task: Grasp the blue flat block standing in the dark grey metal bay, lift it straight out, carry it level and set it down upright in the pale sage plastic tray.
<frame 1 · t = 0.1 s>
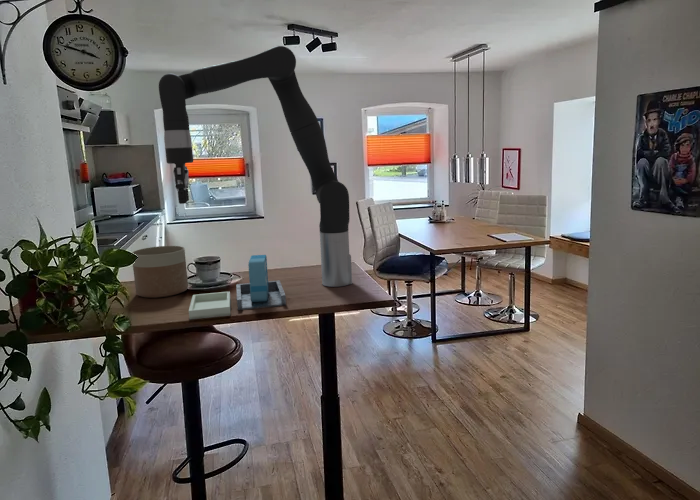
hand: (184, 202, 155), 29 cm above the table, fingers open, 8 cm apart
tray: (211, 308, 148), on the table
planter: (162, 292, 169), on the table
bay: (260, 299, 156), on the table
blue flat block: (260, 298, 155), resting on bay
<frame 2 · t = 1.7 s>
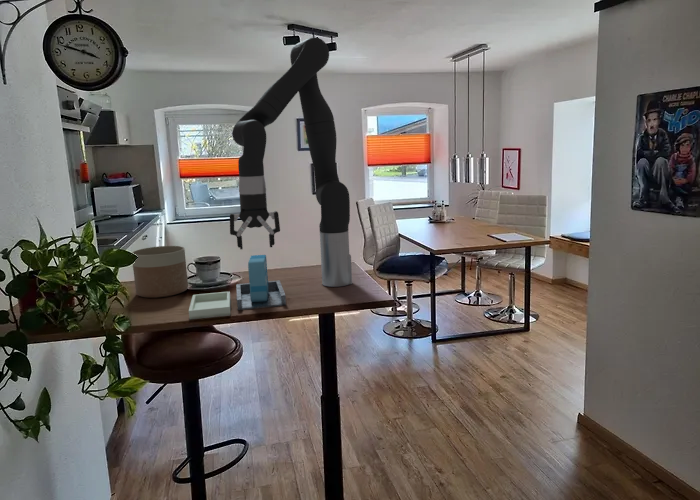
hand: (256, 247, 153), 15 cm above the table, fingers open, 8 cm apart
nothing on the table moved.
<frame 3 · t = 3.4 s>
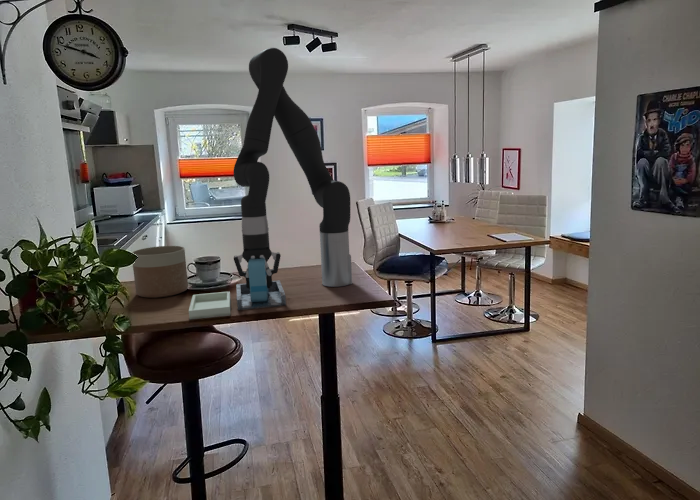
hand: (259, 288, 155), 3 cm above the table, fingers closed on blue flat block, 4 cm apart
blue flat block: (260, 298, 155), resting on bay, touching gripper
everything else where it was.
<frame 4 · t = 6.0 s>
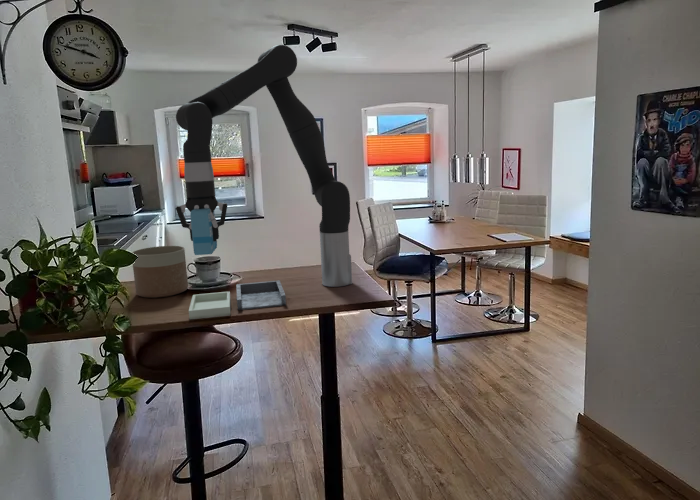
hand: (205, 241, 144), 19 cm above the table, fingers closed on blue flat block, 4 cm apart
blue flat block: (206, 252, 145), point 16 cm above the table, touching gripper
everything else where it was.
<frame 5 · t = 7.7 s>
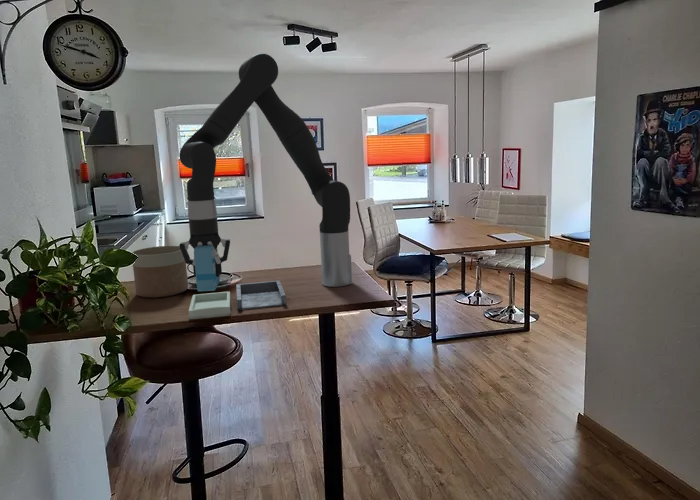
hand: (208, 277, 146), 9 cm above the table, fingers closed on blue flat block, 4 cm apart
blue flat block: (209, 287, 147), point 6 cm above the table, touching gripper
everything else where it was.
when the fingers open (6 cm above the table, at t = 8.9 s): blue flat block drops 2 cm, resting on tray.
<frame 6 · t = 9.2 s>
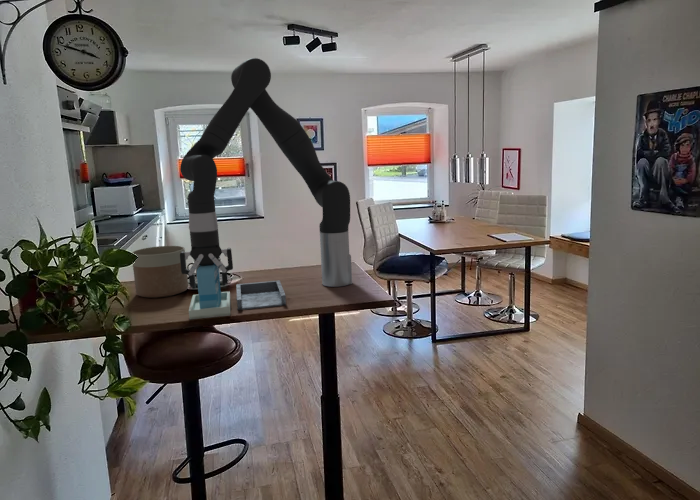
hand: (209, 286, 147), 6 cm above the table, fingers open, 7 cm apart
blue flat block: (211, 307, 148), resting on tray
everything else where it was.
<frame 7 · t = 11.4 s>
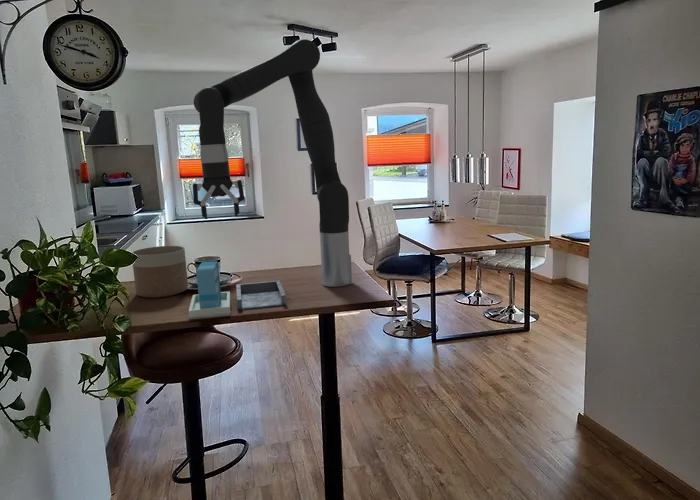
hand: (221, 217, 153), 25 cm above the table, fingers open, 8 cm apart
nothing on the table moved.
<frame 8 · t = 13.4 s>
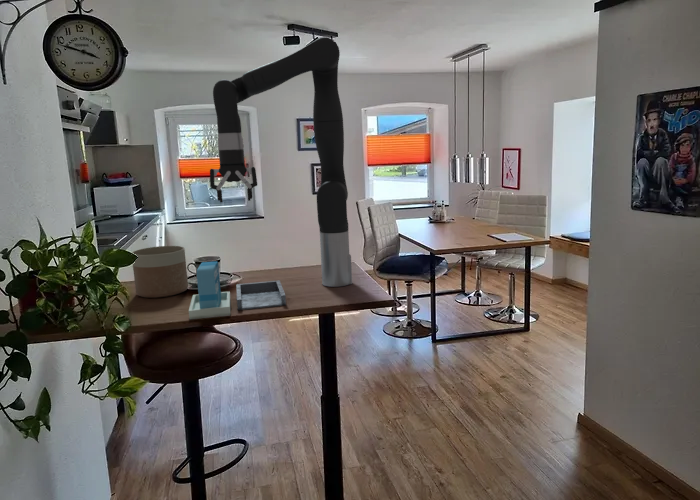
hand: (235, 201, 164), 28 cm above the table, fingers open, 8 cm apart
nothing on the table moved.
at the end: blue flat block inside the target area on the tray (0.1 cm from its centre), point 0.4 cm above the tray's base; blue flat block tilted 0°; the gripper is holding nothing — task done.
